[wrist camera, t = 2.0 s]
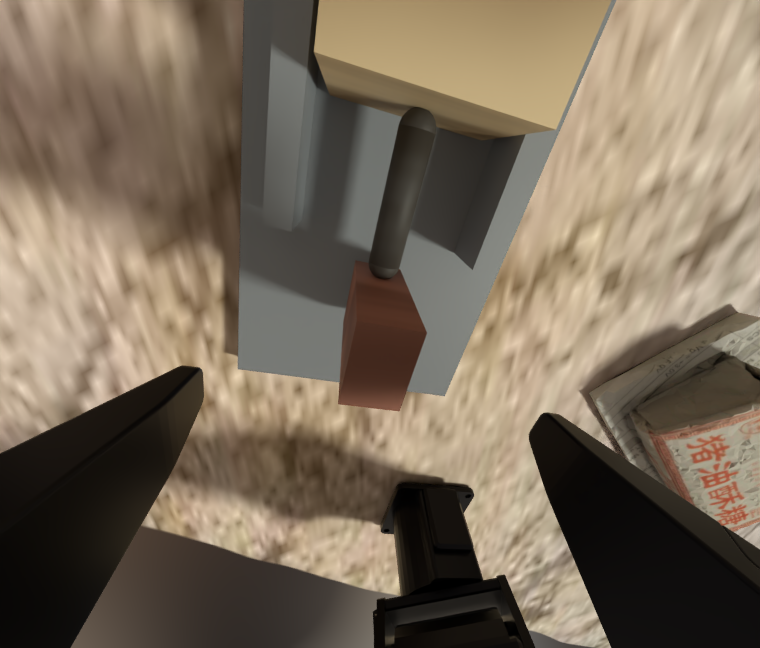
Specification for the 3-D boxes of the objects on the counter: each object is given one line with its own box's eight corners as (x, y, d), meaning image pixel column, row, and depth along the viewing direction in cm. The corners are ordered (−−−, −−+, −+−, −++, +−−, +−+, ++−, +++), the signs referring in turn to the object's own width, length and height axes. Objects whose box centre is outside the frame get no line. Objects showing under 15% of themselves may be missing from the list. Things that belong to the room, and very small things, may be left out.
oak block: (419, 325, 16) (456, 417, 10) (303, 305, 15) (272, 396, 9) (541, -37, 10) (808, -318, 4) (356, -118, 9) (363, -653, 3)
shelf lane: (440, 385, 19) (462, 443, 15) (243, 358, 17) (210, 417, 13) (629, -70, 10) (805, -215, 6) (260, -247, 8) (170, -640, 4)
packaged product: (838, 502, 22) (696, 554, 24) (759, 446, 26) (645, 495, 29) (846, 347, 14) (638, 446, 17) (733, 303, 19) (580, 388, 21)
